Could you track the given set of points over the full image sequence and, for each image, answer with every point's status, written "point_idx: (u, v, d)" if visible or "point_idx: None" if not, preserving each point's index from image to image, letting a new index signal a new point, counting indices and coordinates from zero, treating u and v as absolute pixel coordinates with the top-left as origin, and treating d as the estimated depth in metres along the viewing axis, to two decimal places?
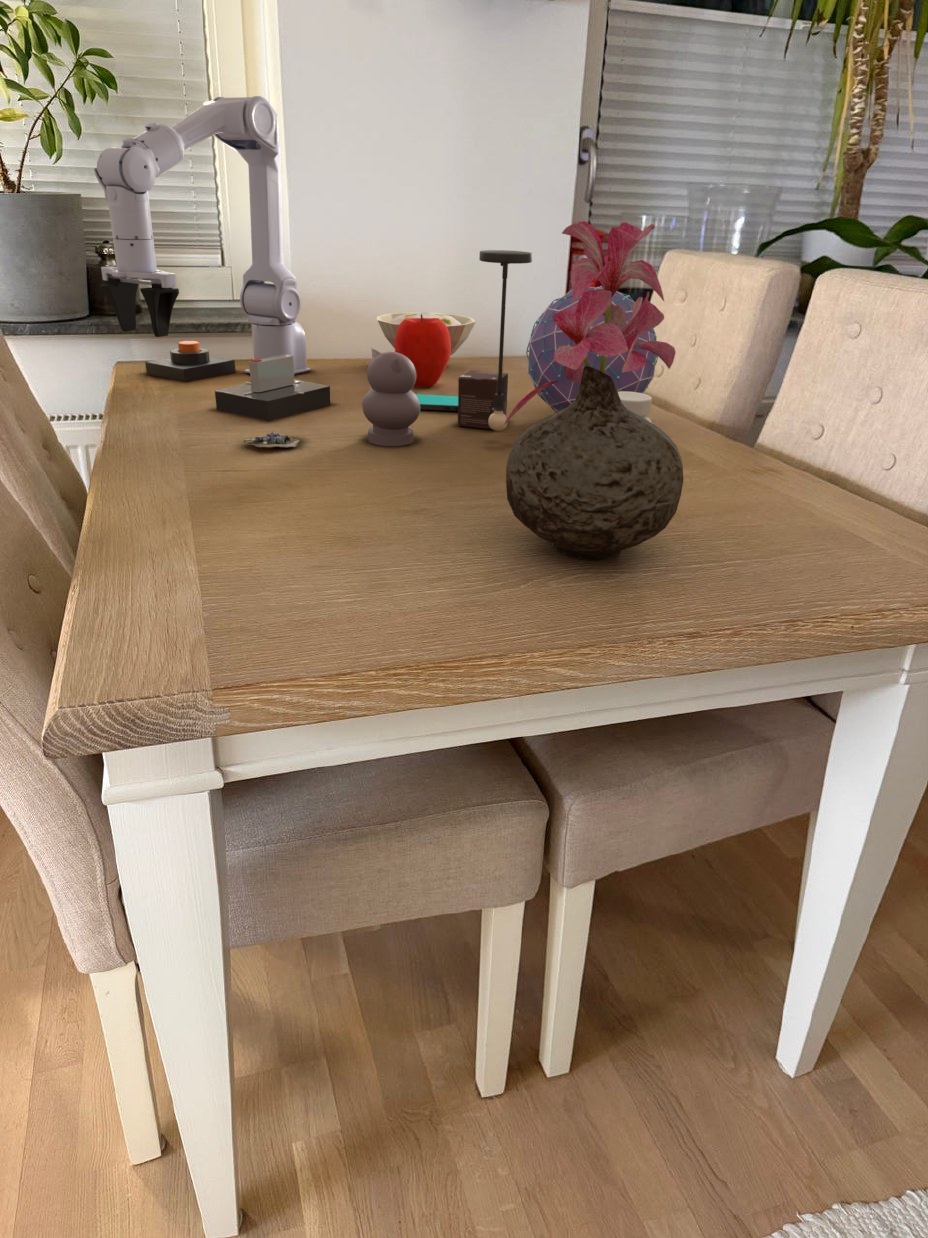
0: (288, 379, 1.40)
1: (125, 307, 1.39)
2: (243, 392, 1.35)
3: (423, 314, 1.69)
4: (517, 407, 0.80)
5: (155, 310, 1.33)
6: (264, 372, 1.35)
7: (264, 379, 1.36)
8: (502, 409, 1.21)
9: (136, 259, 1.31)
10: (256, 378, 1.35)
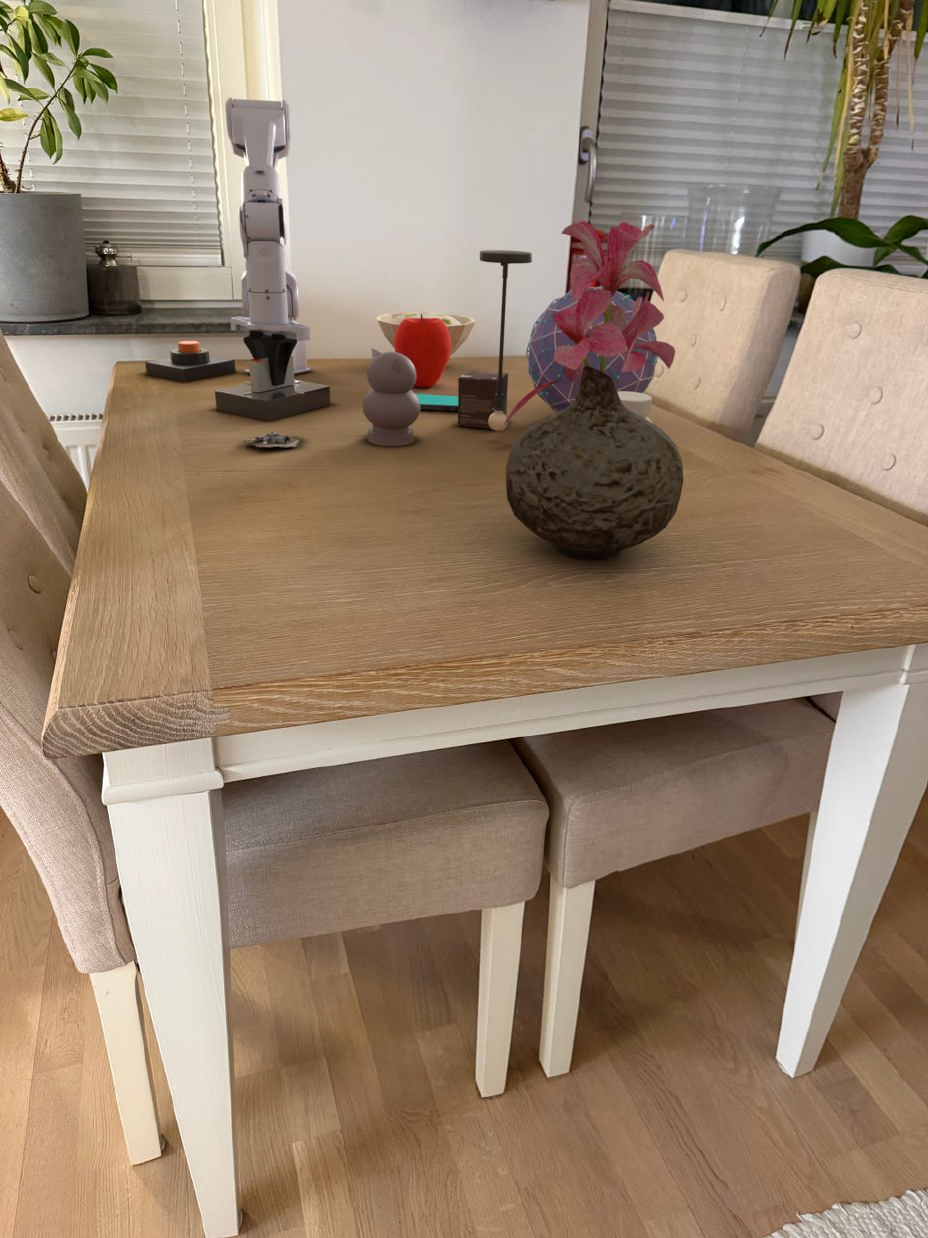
0: (288, 379, 1.40)
1: None
2: (243, 392, 1.35)
3: (423, 314, 1.69)
4: (517, 407, 0.80)
5: (275, 360, 1.34)
6: (264, 372, 1.35)
7: (264, 379, 1.36)
8: (502, 409, 1.21)
9: (271, 312, 1.31)
10: (256, 378, 1.35)
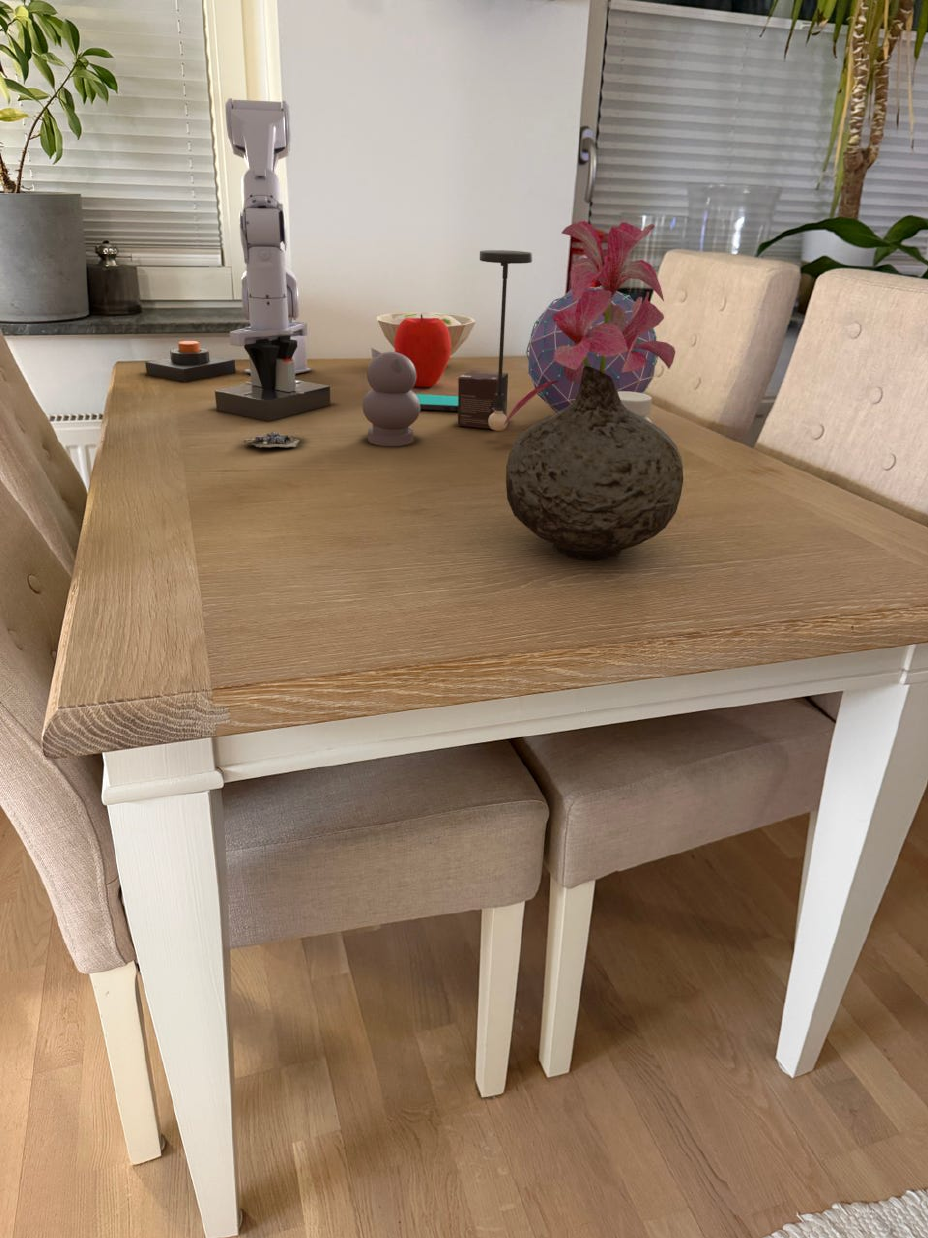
0: None
1: None
2: (243, 392, 1.35)
3: (423, 314, 1.69)
4: (517, 407, 0.80)
5: None
6: None
7: None
8: (502, 409, 1.21)
9: None
10: (294, 377, 1.36)
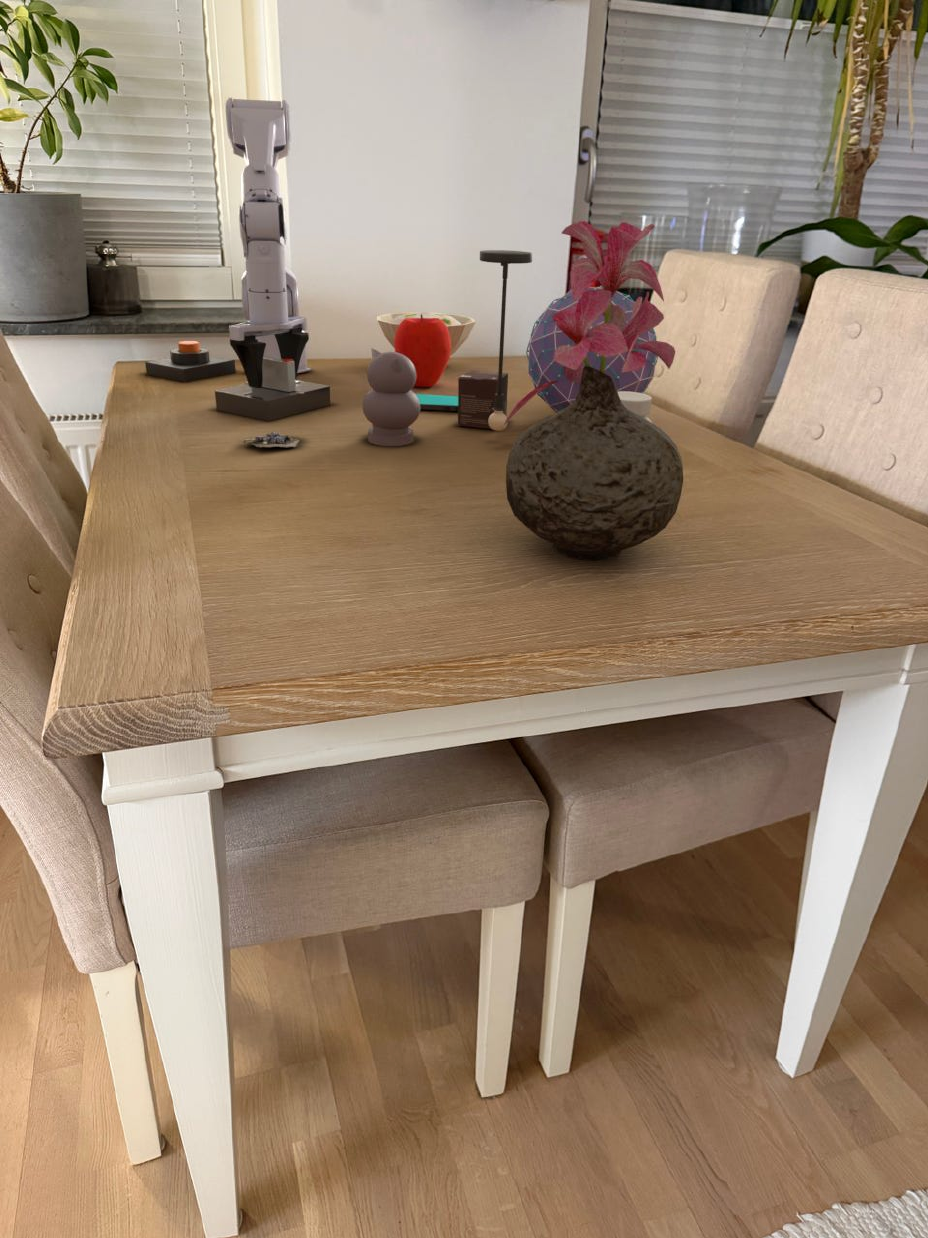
0: None
1: None
2: (243, 392, 1.35)
3: (423, 314, 1.69)
4: (517, 407, 0.80)
5: None
6: None
7: None
8: (502, 409, 1.21)
9: None
10: (294, 377, 1.36)
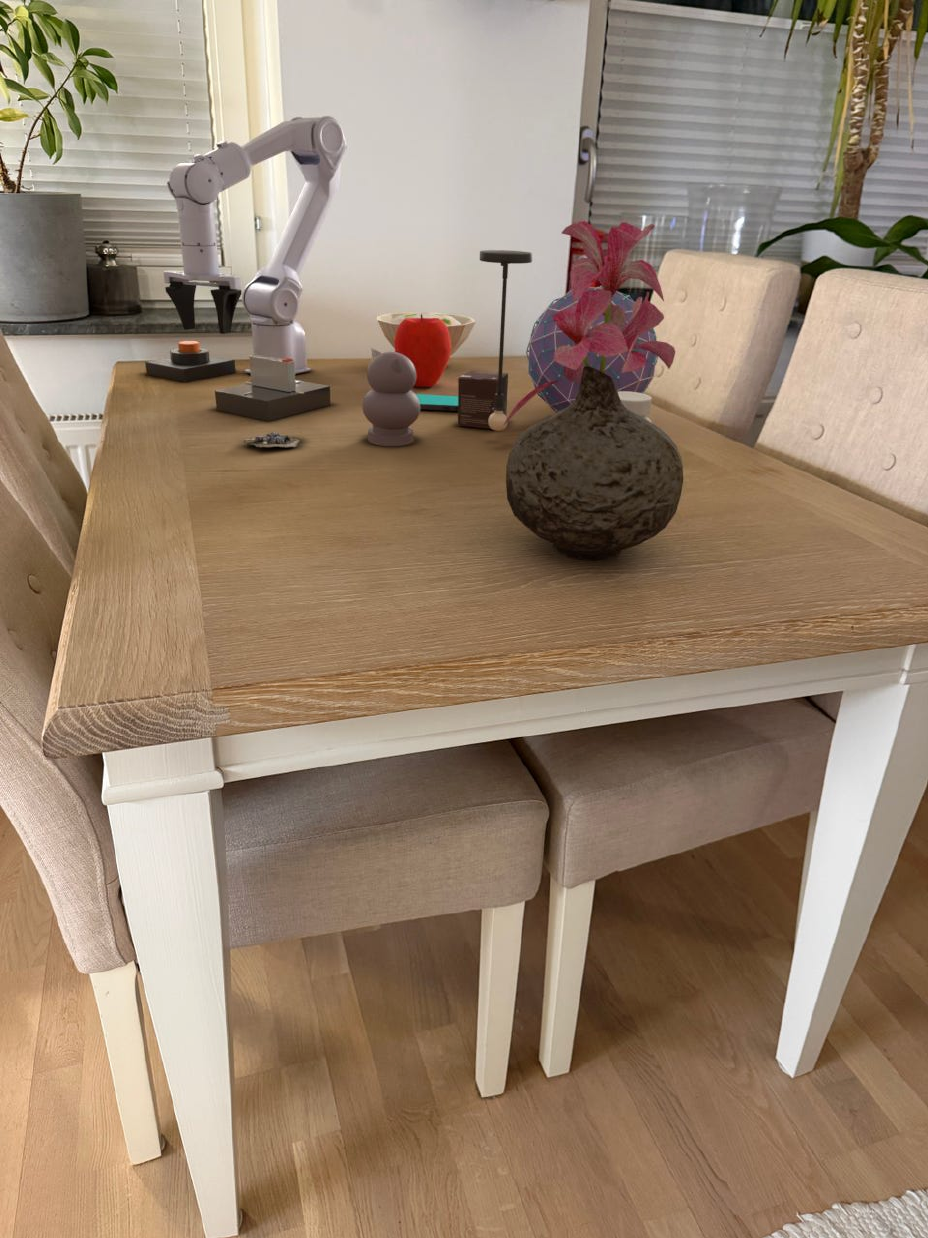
0: None
1: (187, 307, 1.52)
2: (243, 392, 1.35)
3: (423, 314, 1.69)
4: (517, 407, 0.80)
5: (223, 309, 1.47)
6: None
7: None
8: (502, 409, 1.21)
9: (204, 263, 1.45)
10: (294, 377, 1.36)
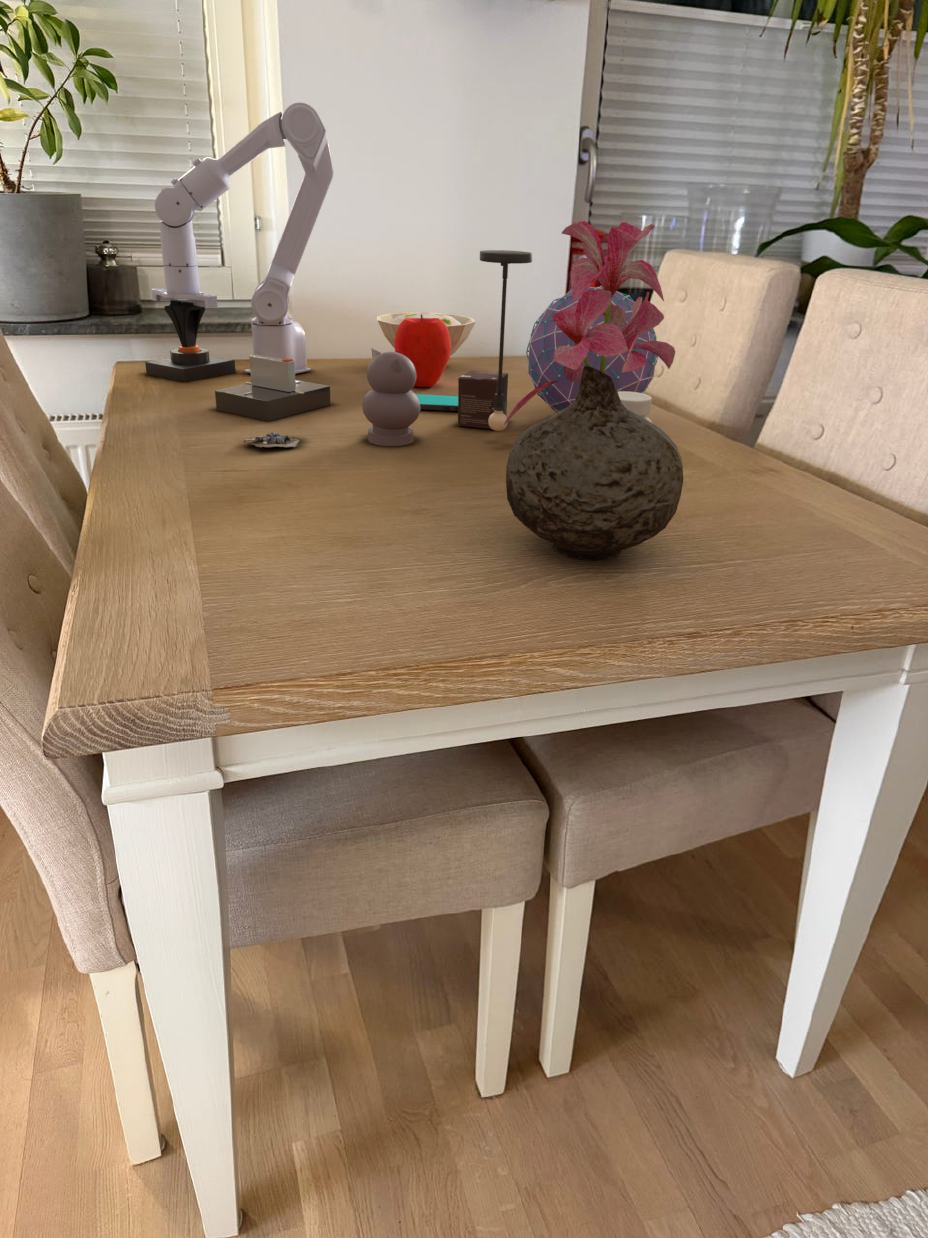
0: None
1: None
2: (243, 392, 1.35)
3: (423, 314, 1.69)
4: (517, 407, 0.80)
5: (185, 325, 1.56)
6: None
7: None
8: (502, 409, 1.21)
9: (183, 283, 1.53)
10: (294, 377, 1.36)
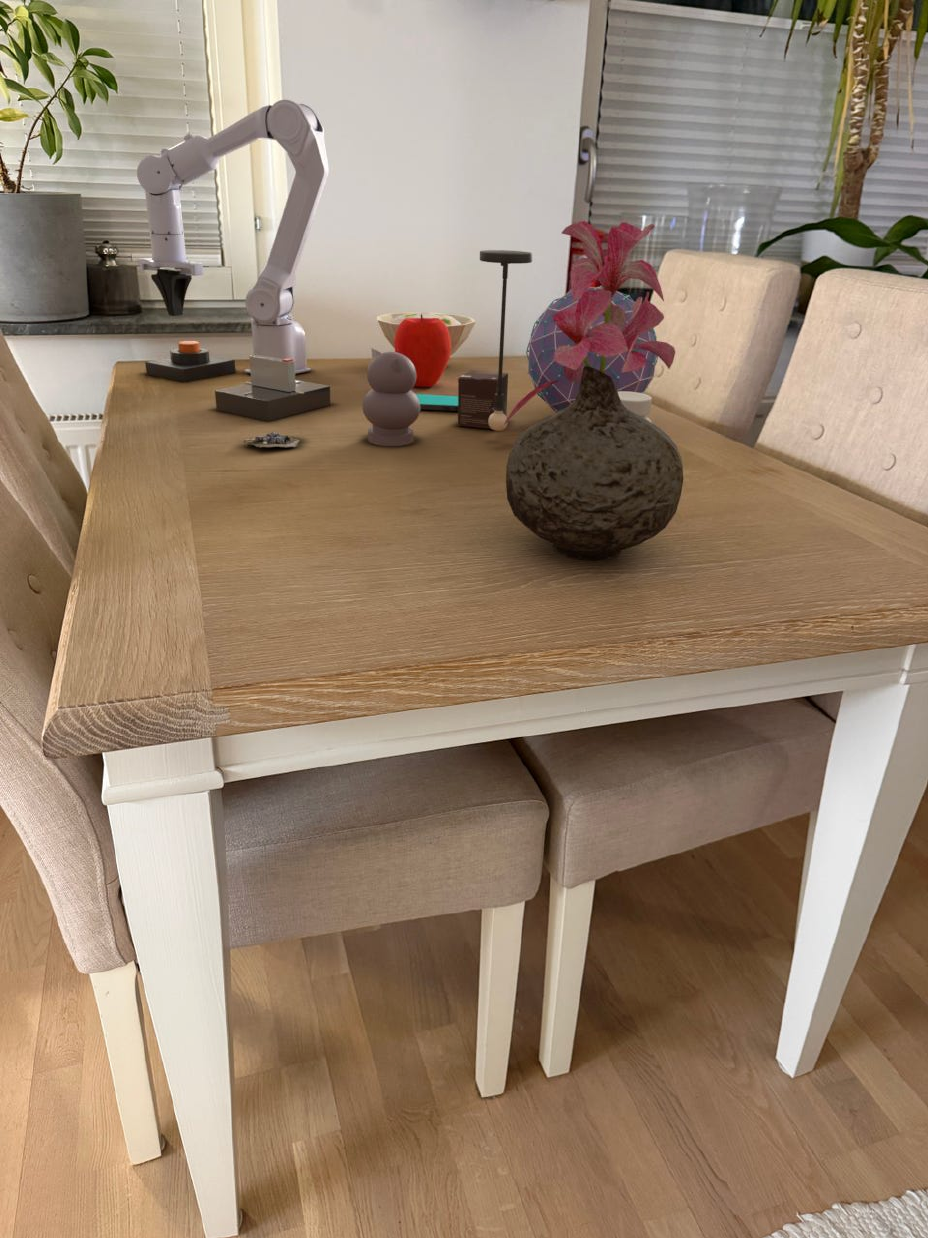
0: None
1: None
2: (243, 392, 1.35)
3: (423, 314, 1.69)
4: (517, 407, 0.80)
5: (172, 293, 1.58)
6: None
7: None
8: (502, 409, 1.21)
9: (169, 251, 1.55)
10: (294, 377, 1.36)
